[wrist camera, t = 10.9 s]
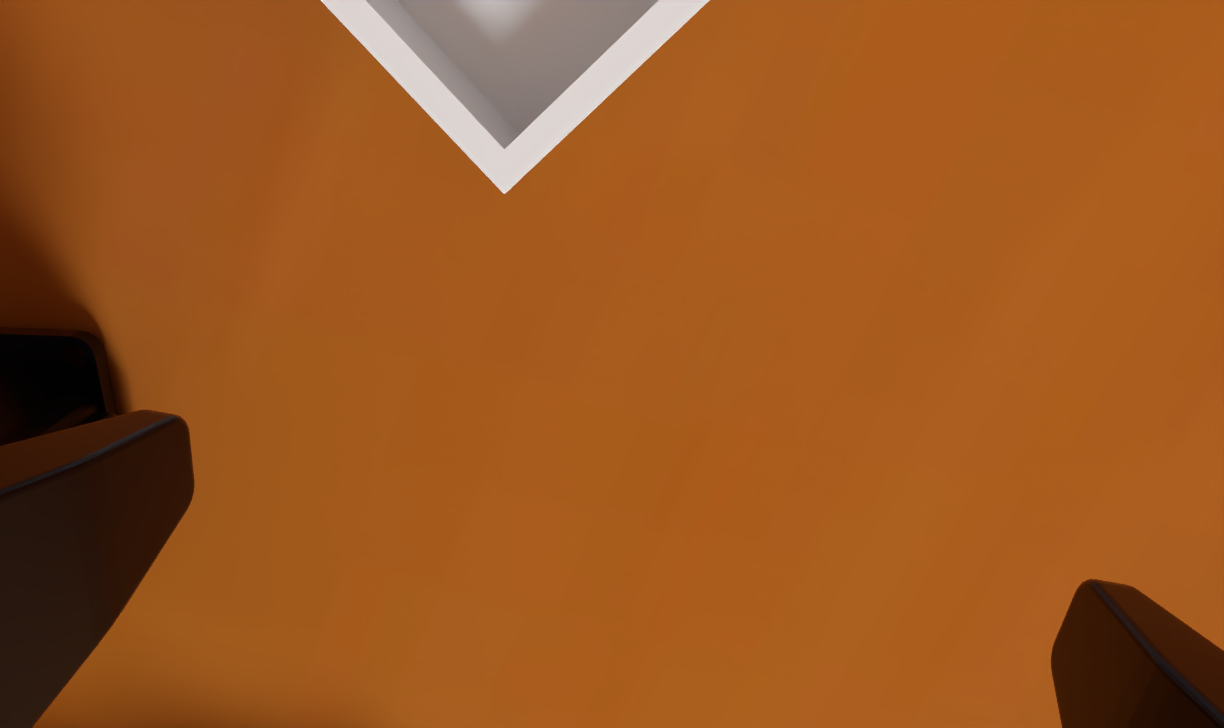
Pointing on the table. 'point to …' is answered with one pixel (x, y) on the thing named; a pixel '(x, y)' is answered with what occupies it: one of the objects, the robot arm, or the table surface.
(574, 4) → the white compartment tray
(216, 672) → the table surface
